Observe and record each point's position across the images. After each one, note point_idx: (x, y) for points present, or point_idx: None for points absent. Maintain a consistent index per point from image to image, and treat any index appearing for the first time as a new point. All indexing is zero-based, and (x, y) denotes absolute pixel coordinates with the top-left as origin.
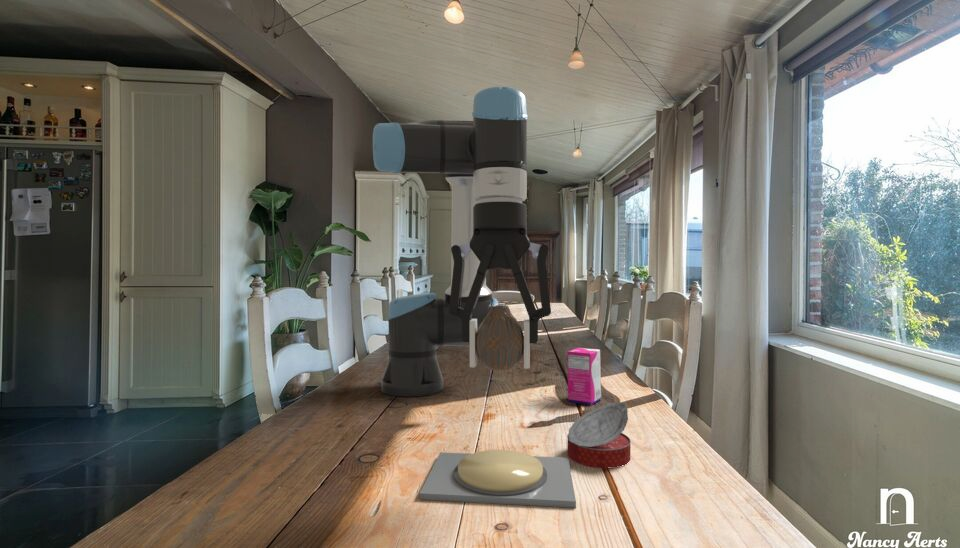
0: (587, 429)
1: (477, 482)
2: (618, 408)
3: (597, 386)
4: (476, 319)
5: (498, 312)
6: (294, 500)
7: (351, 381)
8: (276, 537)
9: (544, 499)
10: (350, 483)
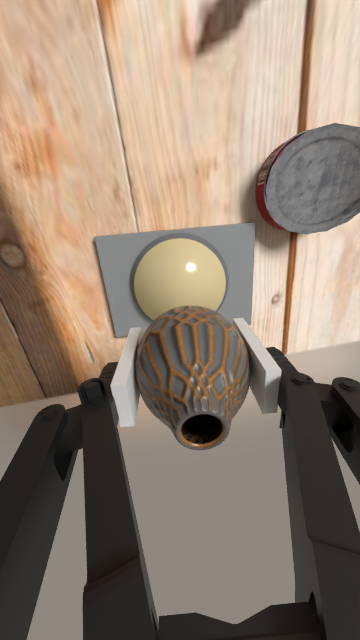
0: (298, 186)
1: None
2: None
3: None
4: (128, 398)
5: (199, 440)
6: (15, 355)
7: None
8: (46, 396)
9: None
10: (38, 319)
